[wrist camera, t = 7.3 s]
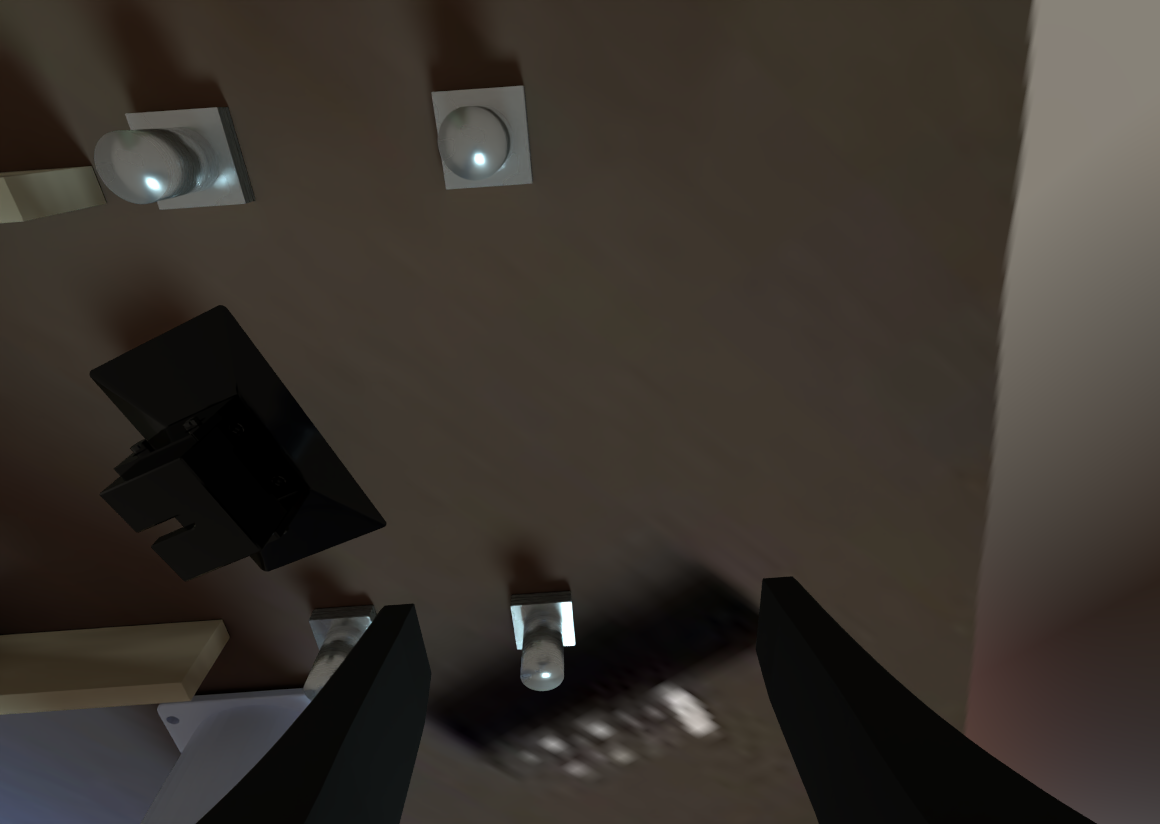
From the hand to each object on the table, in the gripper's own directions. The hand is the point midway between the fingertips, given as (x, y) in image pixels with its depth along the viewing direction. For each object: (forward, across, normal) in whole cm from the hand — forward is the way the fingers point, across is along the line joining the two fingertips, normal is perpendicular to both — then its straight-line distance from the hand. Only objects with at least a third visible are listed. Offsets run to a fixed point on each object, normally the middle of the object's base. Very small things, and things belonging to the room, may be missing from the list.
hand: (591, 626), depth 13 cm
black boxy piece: (+10, +12, 0) cm, 15 cm away
